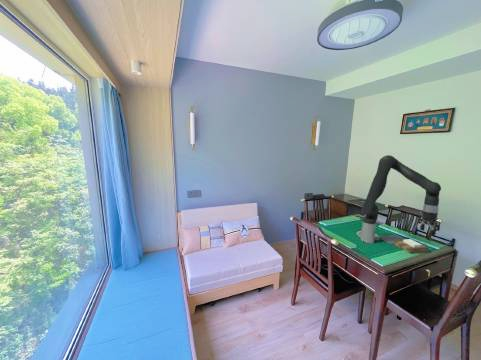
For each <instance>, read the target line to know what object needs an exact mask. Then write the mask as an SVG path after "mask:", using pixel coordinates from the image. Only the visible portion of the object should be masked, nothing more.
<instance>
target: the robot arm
mask: <svg viewBox="0 0 481 360" xmlns="http://www.w3.org/2000/svg"><path fill="white" fill-rule="evenodd" d="M391 169H393V170H395V171H396V172H398V173H399V174H401V175H402V176H403V177H404V178H406V179H407V180H408V181H410V182H412V183H413V184H415V185H417V186H419V187H420V188H421V189H423V190H425V197H424V203H423V206H422V214H421V215H418V219H417V223H418V224H419V225H420V227H419V229H420V231H425V228H426V226H428V227H429V228H430V229H431V230H430V236H432V237H434V236H436V234H437V233H436V232H439V231H441V222H439V221H436V219H438V215H439V205H440V204H439V203H440V193H441V190H442V186H441V184H440V183H439V182H436V181H432V180H431V179H429V178H427V177H426V176H425V175H423V174H421V173H419V172H418V171H416V170H415V169H412V168H410V167H408V166H407V165H405V164H403V163H402V162H401V161H400V160H398V159H397V158H396V157H394V156H393V155H389V154H387V155H384V156H382V157H381V158H380V159H379V161H378V165H377V170H376V173H375V176H374V177H373V179H372V182H371V184H370V187H369V190H368V194H367V195H366V199H365V200H364V202H363V205H362V206H361V213H362V214H363V215H364V216H363V218H362V225H361V226H362V227H361V229H360V240H361V241H362V242H363V241H364V242H363V243H365V242H366V244H374V243H375V235H376V224H377V221H378V216H379V207H378V206H377V204H376V201H377V200H378V199H379V198H380V197H382V196H381V195H383V193H384V191H385V189H386V186H387V183H388V182H387V181H388V177H389V173H390V171H391ZM425 225H426V226H425Z"/></svg>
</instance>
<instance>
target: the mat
mask: <svg viewBox="0 0 481 360" xmlns="http://www.w3.org/2000/svg"><path fill="white" fill-rule="evenodd" d="M376 237H377V238H379V239H380V240H382V241H384V242H385V243H387V244H389V245H393V244H394V243H395V240H404V239H405V238H404V237H402V236H400V235H398V234H395V235H394V234H391V235H390V234H388V235H376Z"/></svg>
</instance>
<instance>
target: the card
mask: <svg viewBox="0 0 481 360" xmlns="http://www.w3.org/2000/svg"><path fill="white" fill-rule="evenodd" d="M403 242H405V243H406V244H408V245H410V246H412V247H421V246H422V245H423V244H422V243H420V244H419V242H417V241H415V240H413V239H411V238H410V239H409V238H407V239H406V238H404V240H403Z"/></svg>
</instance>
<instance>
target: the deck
mask: <svg viewBox="0 0 481 360" xmlns="http://www.w3.org/2000/svg"><path fill="white" fill-rule="evenodd" d="M418 243H419V242H418ZM419 244H421V243H419ZM394 246H396V247H397V248H399V249H401V250H403V251H405V252H407V253H408V254H424V253H428V252H429V247H428V246H425V245H423V244H422V246H421V247H412V246H410V245H408V244H406V243H405V242H403V240H395V243H394Z"/></svg>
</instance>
